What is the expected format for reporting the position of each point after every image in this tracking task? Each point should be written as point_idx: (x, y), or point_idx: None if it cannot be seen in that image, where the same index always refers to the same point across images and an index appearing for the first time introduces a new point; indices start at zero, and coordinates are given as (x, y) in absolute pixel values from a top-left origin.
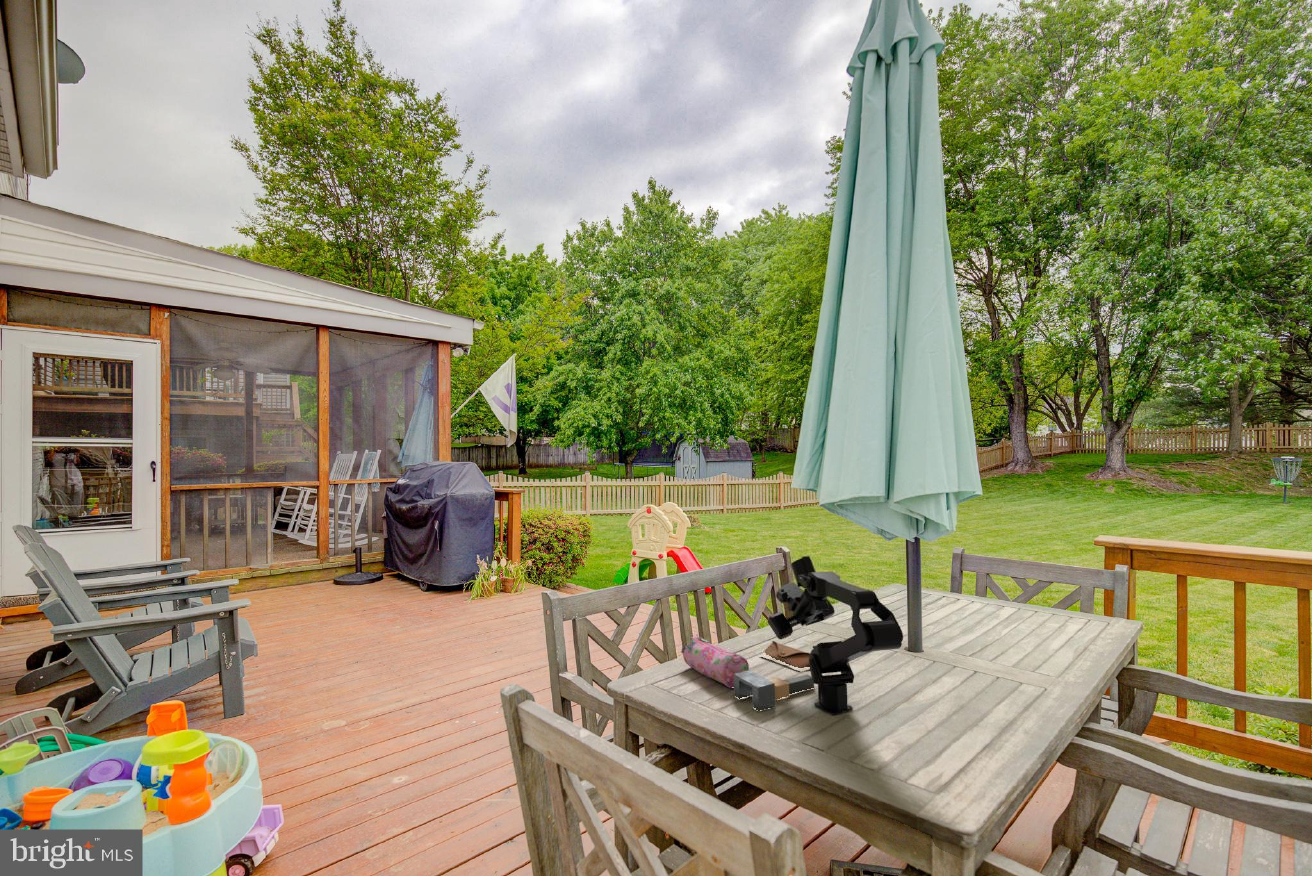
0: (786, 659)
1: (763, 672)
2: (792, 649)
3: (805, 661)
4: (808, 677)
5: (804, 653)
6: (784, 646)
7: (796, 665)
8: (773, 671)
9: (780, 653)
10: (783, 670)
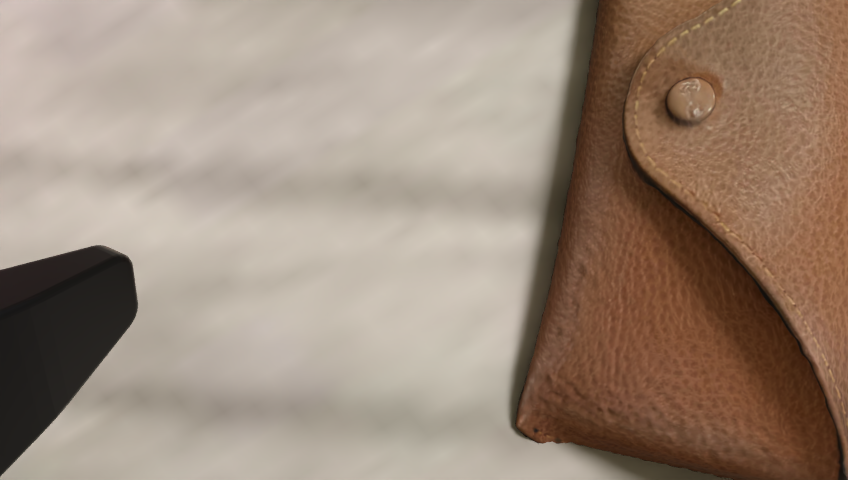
0: (613, 191)
1: (266, 126)
2: (814, 159)
3: (684, 415)
4: None
5: (803, 350)
6: (834, 27)
7: (568, 351)
8: (357, 188)
9: (671, 71)
10: (451, 253)
